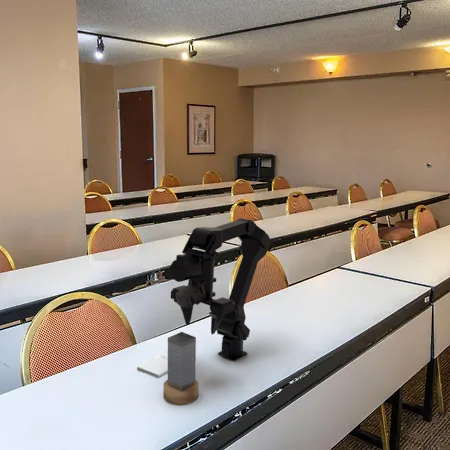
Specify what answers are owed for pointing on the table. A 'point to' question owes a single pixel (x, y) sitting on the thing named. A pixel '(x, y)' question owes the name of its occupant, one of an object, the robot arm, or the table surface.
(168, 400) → the stand
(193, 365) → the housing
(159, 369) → the external hard drive
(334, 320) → the table surface
